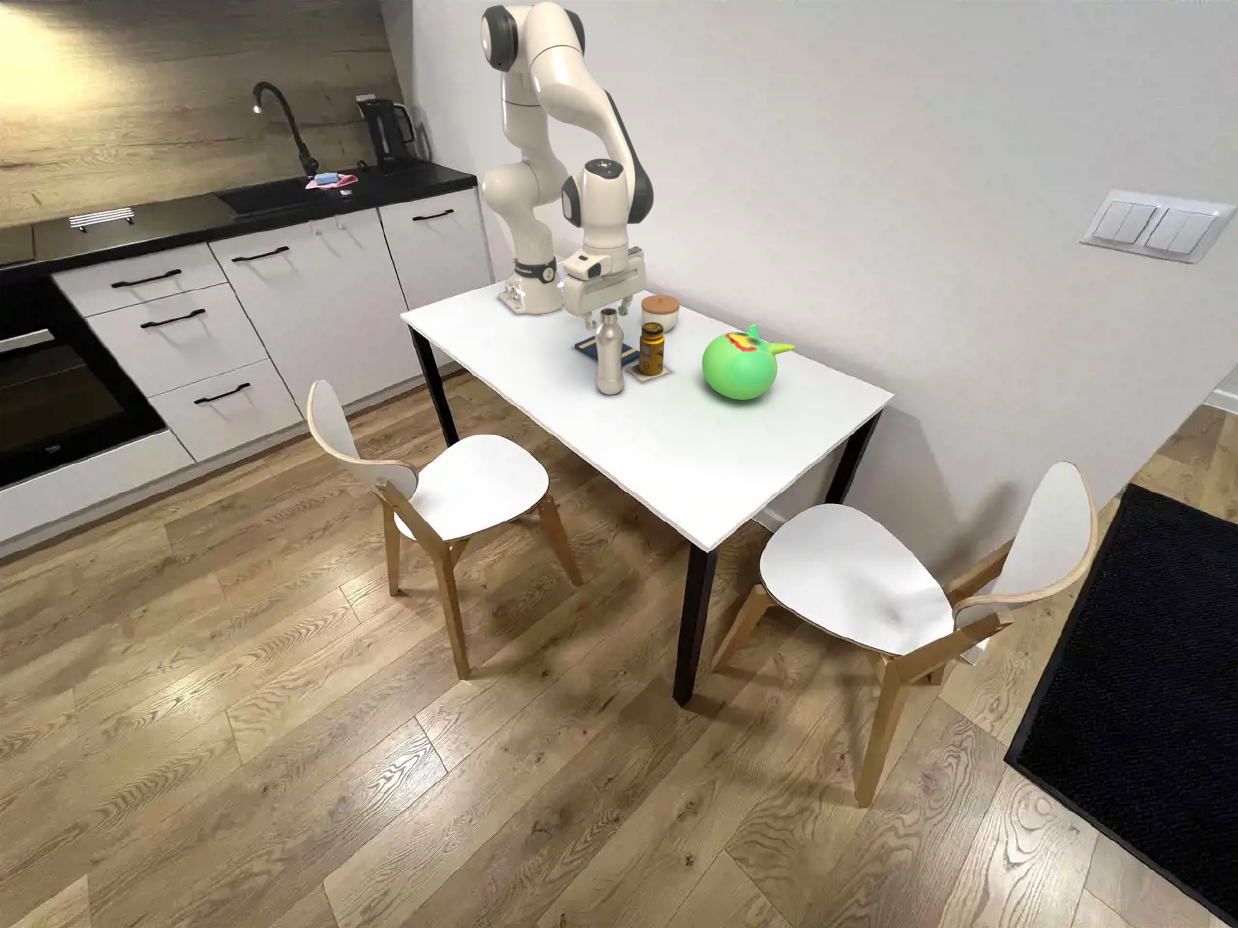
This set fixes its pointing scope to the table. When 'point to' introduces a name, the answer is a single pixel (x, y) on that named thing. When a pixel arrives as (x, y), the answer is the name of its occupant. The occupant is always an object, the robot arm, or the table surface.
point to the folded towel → (591, 350)
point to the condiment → (650, 353)
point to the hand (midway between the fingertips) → (607, 321)
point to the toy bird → (741, 364)
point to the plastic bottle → (609, 352)
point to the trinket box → (660, 310)
